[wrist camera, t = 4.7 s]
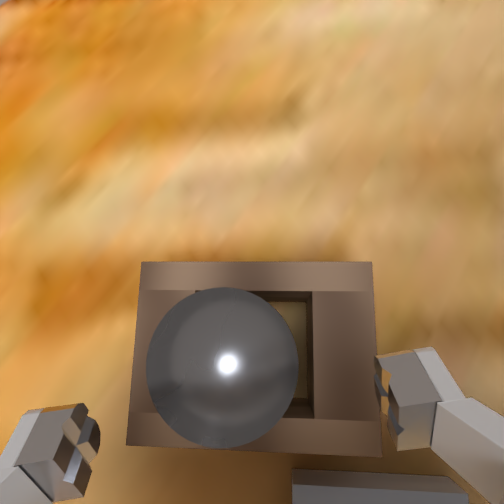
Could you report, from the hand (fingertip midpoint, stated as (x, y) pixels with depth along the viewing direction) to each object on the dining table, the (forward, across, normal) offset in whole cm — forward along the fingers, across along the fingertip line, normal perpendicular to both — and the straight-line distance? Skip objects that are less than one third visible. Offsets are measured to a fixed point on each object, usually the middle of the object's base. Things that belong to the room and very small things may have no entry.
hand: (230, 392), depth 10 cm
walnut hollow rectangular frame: (+10, 0, +9) cm, 14 cm away
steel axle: (+10, 0, +9) cm, 14 cm away
